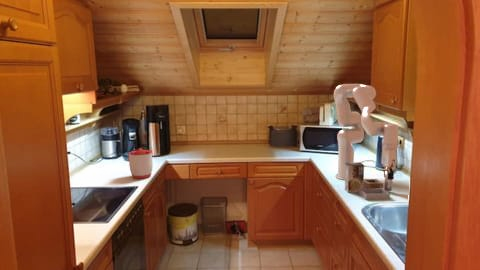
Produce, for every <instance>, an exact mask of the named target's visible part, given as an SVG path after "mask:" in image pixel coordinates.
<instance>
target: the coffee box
mask: <svg viewBox="0 0 480 270" xmlns="http://www.w3.org/2000/svg"><path fill="white" fill-rule="evenodd" d="M364 179H365V164H363V163H362V162H360V161H359V162H354V163H345V180H344V190H345V191H346V192H347V193H348V194H349V193H359V189H363V188H364Z"/></svg>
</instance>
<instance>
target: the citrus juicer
mask: <svg viewBox="0 0 480 270" xmlns="http://www.w3.org/2000/svg"><path fill="white" fill-rule="evenodd" d="M127 154H128V155H127V156H128V157H127V158H126V159H125V161H128V164H129V165H128V166H129V170H130V173H131V176H132V178H133V179H135V178H136V179H147V178H150V177H151V175H152V173H153V172H152V171H153V151H152V150H149V149H143V148H141V147H139V148H138V149H137V150H132V151H130V153H127Z"/></svg>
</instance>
